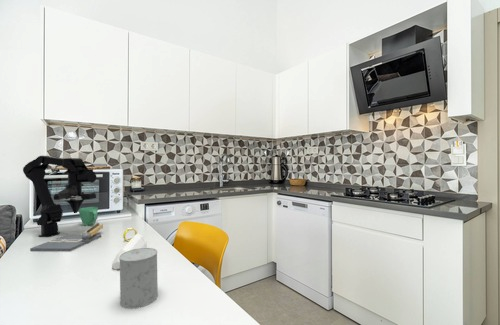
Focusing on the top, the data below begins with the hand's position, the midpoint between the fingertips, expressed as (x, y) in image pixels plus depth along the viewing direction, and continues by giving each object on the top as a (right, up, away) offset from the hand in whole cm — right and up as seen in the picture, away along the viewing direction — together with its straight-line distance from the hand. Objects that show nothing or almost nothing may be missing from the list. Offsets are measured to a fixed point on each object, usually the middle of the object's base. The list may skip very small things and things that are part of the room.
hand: (75, 213), depth 128 cm
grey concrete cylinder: (+59, -12, -59) cm, 84 cm away
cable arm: (+11, -9, -4) cm, 15 cm away
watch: (+32, -12, -8) cm, 35 cm away
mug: (-7, -12, +22) cm, 26 cm away
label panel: (+5, -12, -11) cm, 17 cm away
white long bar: (+43, -12, -30) cm, 54 cm away
